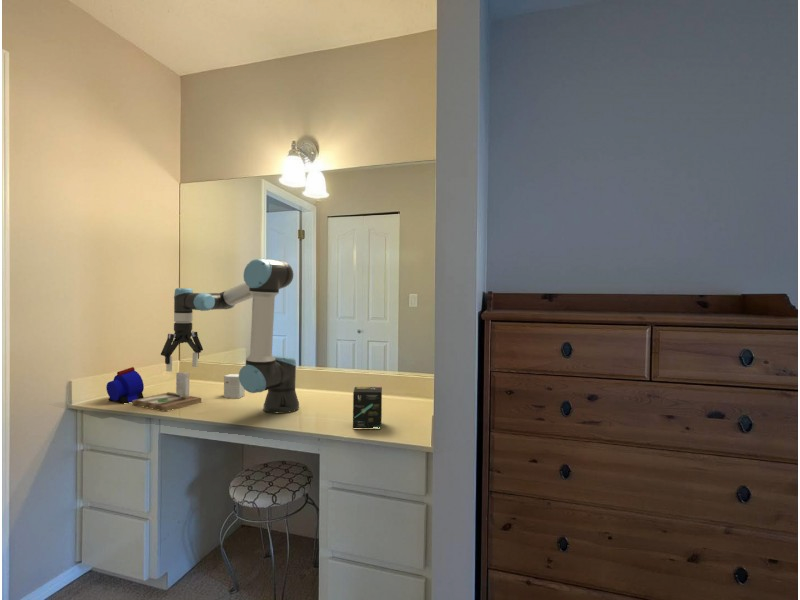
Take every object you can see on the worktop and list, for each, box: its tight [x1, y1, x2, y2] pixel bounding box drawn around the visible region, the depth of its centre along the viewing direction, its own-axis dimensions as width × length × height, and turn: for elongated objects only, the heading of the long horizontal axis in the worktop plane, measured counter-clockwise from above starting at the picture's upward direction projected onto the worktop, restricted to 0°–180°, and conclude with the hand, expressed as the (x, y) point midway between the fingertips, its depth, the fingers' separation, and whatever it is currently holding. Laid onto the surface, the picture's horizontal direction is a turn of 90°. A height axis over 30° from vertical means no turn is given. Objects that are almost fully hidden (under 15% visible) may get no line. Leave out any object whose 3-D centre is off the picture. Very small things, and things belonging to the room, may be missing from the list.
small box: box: [223, 373, 246, 399], centre depth 219 cm, size 8×6×10 cm
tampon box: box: [352, 386, 383, 429], centre depth 176 cm, size 11×9×15 cm
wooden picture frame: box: [132, 391, 202, 412], centre depth 204 cm, size 22×18×2 cm
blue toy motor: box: [106, 366, 145, 405], centre depth 207 cm, size 12×12×15 cm
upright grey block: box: [166, 371, 190, 398], centre depth 207 cm, size 13×2×11 cm, turn 64°
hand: (182, 368), depth 205 cm, fingers open, 13 cm apart
